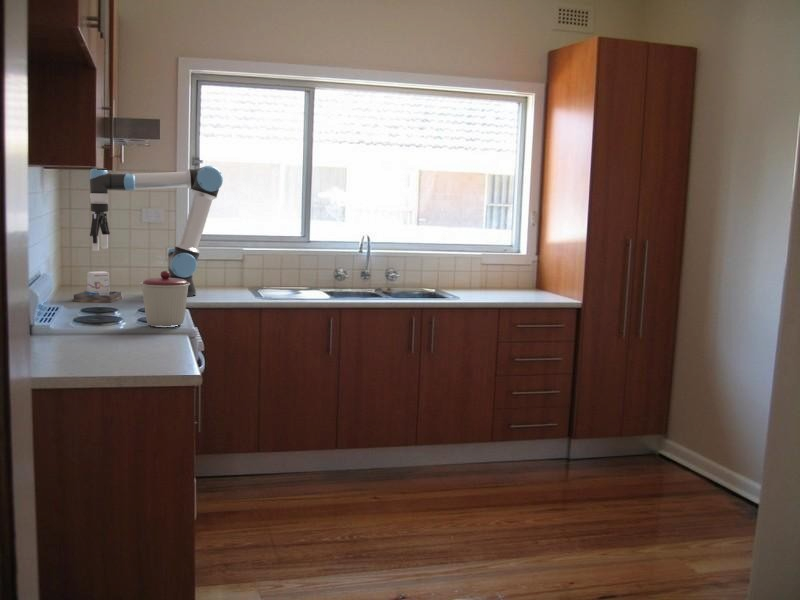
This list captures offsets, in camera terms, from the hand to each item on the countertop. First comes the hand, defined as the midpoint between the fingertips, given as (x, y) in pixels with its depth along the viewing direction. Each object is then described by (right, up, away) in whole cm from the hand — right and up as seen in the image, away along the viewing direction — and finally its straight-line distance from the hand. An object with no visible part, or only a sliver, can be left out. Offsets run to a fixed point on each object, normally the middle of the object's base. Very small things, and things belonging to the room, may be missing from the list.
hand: (100, 249), depth 380 cm
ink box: (-1, -22, +1) cm, 22 cm away
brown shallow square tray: (-2, -23, +2) cm, 23 cm away
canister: (+48, -33, -65) cm, 87 cm away
